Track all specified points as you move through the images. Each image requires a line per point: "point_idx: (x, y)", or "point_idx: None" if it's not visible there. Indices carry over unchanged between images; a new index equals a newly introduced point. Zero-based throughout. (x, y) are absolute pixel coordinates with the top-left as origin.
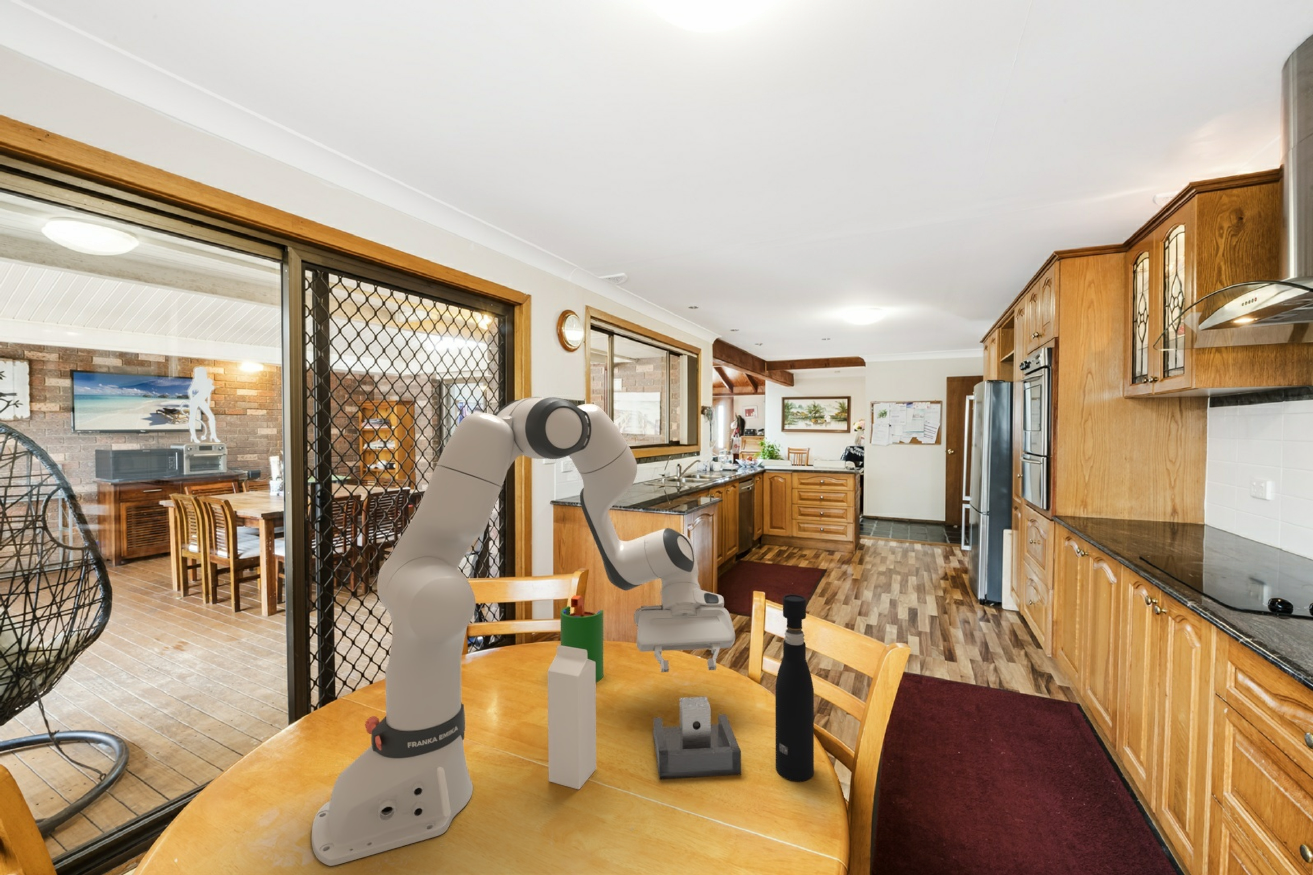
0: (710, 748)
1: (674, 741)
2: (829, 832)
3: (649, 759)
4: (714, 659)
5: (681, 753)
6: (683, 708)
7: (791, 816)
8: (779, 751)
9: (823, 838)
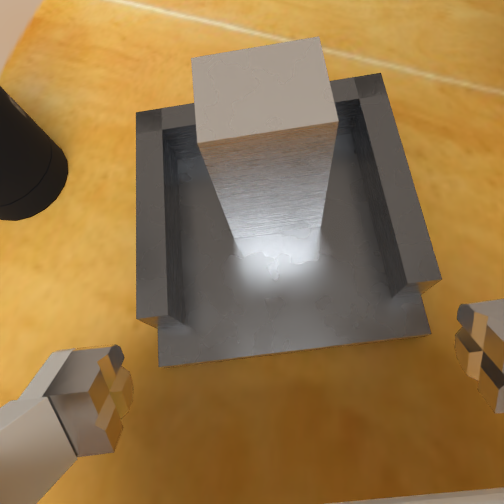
0: None
1: (339, 251)
2: (39, 27)
3: None
4: (34, 386)
5: None
6: (314, 41)
7: (90, 51)
8: (28, 120)
9: (56, 15)
